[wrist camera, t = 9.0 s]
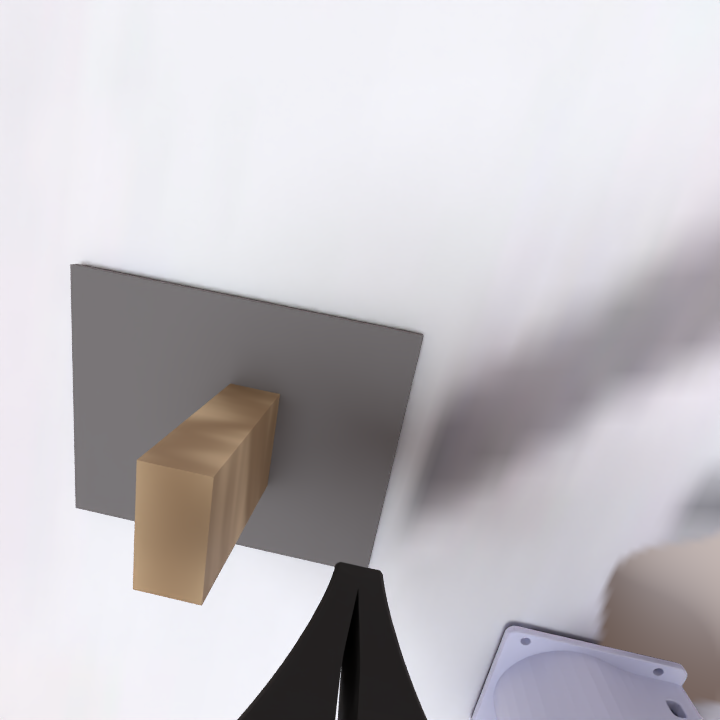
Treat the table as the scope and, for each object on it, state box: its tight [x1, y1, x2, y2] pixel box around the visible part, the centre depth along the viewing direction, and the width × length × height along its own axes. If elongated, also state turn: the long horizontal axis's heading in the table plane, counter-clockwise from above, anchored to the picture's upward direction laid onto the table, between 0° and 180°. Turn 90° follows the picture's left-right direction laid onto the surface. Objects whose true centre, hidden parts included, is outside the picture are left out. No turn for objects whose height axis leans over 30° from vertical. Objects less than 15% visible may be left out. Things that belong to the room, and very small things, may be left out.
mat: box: [70, 264, 423, 568], centre depth 20 cm, size 16×13×1 cm
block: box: [133, 384, 280, 605], centre depth 16 cm, size 2×5×7 cm, turn 169°
